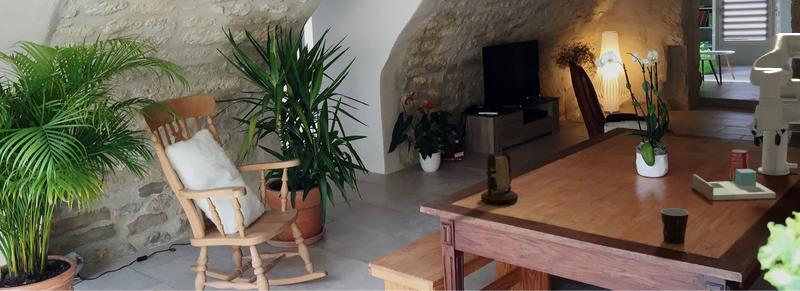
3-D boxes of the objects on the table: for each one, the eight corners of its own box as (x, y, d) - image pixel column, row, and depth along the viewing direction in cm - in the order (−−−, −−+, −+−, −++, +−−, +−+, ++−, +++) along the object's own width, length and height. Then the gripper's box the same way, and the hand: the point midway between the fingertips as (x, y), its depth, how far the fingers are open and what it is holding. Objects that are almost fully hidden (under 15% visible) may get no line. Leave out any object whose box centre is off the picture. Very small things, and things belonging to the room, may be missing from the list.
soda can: (749, 182, 333) (750, 152, 330) (731, 182, 334) (732, 152, 331) (745, 178, 339) (747, 149, 337) (727, 178, 341) (729, 149, 338)
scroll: (494, 208, 311) (493, 158, 307) (474, 200, 323) (473, 152, 319) (525, 202, 317) (525, 153, 313) (504, 194, 330) (503, 147, 326)
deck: (753, 185, 329) (754, 172, 328) (775, 198, 309) (776, 184, 308) (692, 187, 329) (693, 174, 328) (710, 200, 310) (711, 186, 309)
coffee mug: (664, 235, 270) (665, 207, 268) (690, 239, 266) (691, 210, 264) (654, 245, 261) (654, 215, 259) (680, 249, 256) (681, 219, 254)
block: (749, 181, 327) (750, 168, 325) (755, 185, 321) (756, 172, 320) (734, 182, 327) (735, 169, 326) (740, 186, 321) (741, 172, 320)
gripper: (787, 99, 320) (784, 142, 324) (743, 101, 321) (741, 144, 324) (795, 102, 313) (793, 146, 317) (751, 104, 313) (749, 148, 317)
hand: (767, 145), depth 320 cm, fingers open, 7 cm apart
